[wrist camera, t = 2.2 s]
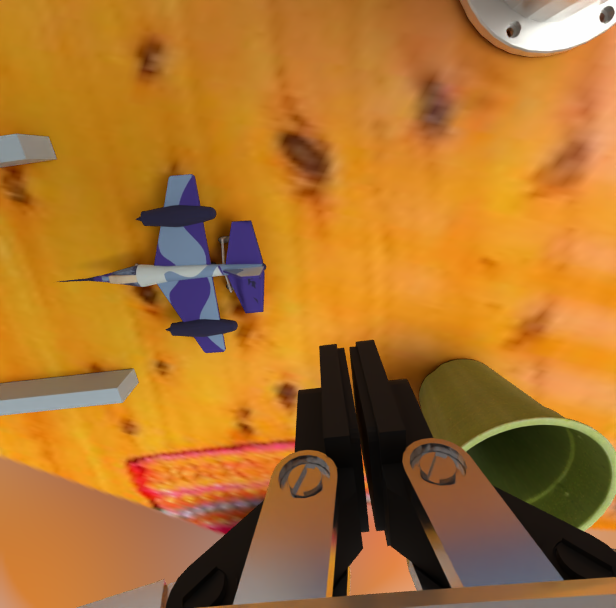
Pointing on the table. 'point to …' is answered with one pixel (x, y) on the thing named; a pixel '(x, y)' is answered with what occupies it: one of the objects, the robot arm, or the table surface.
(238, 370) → the table surface
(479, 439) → the plant pot
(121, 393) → the white u-shaped frame
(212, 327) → the toy airplane
